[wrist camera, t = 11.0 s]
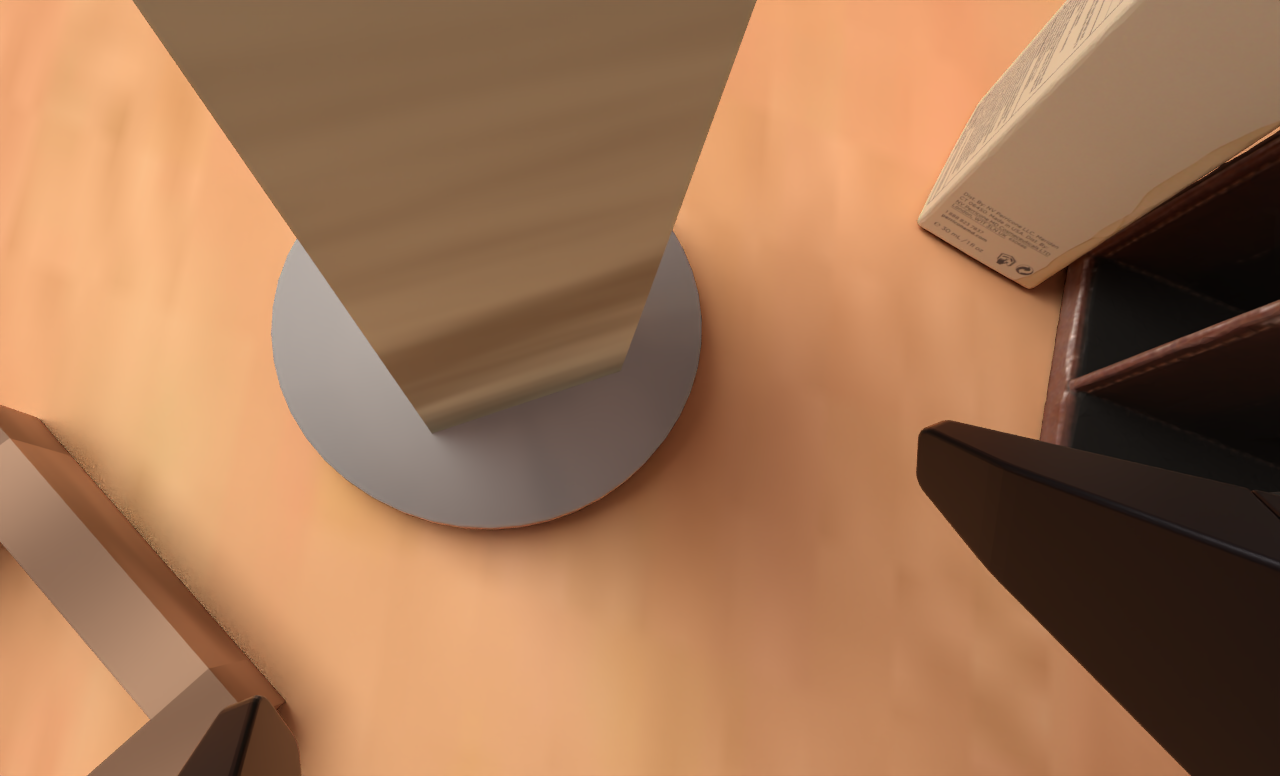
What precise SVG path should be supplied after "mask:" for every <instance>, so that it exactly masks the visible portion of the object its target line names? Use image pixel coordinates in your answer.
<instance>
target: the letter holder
mask: <svg viewBox="0 0 1280 776" xmlns="http://www.w3.org/2000/svg"><path fill="white" fill-rule="evenodd" d="M1040 441H1043V442H1048V443H1052V444H1057V445H1061V446H1065V447H1070V448H1074V449H1078V450H1083V451H1087V452H1092V453H1096V454H1100V455H1105V456H1109V457H1114V458H1118V459H1122V460H1127V461H1131V462H1136V463H1140V464H1144V465H1149V466H1153V467H1158V468H1162V469H1166V470H1171V471H1175V472H1179V473H1184V474H1188V475H1193V476H1197V477H1201V478H1206V479H1210V480H1215V481H1219V482H1223V483H1228V484H1232V485H1237V486H1241V487H1245V488H1247V489H1249V490H1250V491H1253V490H1259V491H1263V492H1268V493H1272V494H1276V495H1280V130H1279V131H1278V132H1276V133H1275V134H1274V135H1272V136H1270V137H1269V138H1267V139H1265V140H1264V141H1262V142H1260V143H1259V144H1257V145H1256V146H1254V147H1253V148H1251V149H1250V150H1248V151H1247V152H1245V153H1243V154H1241V155H1240V156H1238V157H1236V158H1234V159H1233V160H1231V161H1229V162H1226V163H1223V164H1222V165H1220V166H1219V167H1218V168H1217V169H1216V170H1214V171H1213V172H1211V173H1210V174H1208V175H1207V176H1205V177H1203V178H1202V179H1200V180H1198V181H1196V182H1195V183H1193V184H1191V185H1190V186H1188V187H1186V188H1185V189H1183V190H1182V191H1180V192H1179V193H1177V194H1176V195H1174V196H1173V197H1171V198H1170V199H1168V200H1167V201H1165V202H1163V203H1162V204H1160V205H1159V206H1157V207H1156V208H1154V209H1153V210H1151V211H1150V212H1148V213H1147V214H1145V215H1144V216H1142V217H1141V218H1139V219H1138V220H1136V221H1135V222H1133V223H1132V224H1130V225H1129V226H1127V227H1125V228H1124V229H1122V230H1121V231H1119V232H1118V233H1116V234H1115V235H1113V236H1112V237H1110V238H1109V239H1107V240H1106V241H1104V242H1103V243H1101V244H1100V245H1098V246H1097V247H1095V248H1094V249H1092V250H1090V251H1089V252H1087V253H1086V254H1084V255H1083V256H1081V257H1080V258H1078V259H1077V260H1075V261H1074V262H1072V263H1071V264H1069V266H1068V270H1067V276H1066V281H1065V287H1064V292H1063V298H1062V304H1061V310H1060V317H1059V323H1058V326H1057V334H1056V339H1055V348H1054V354H1053V360H1052V367H1051V372H1050V378H1049V384H1048V391H1047V401H1046V403H1045V408H1044V417H1043V421H1042V429H1041V436H1040Z"/></svg>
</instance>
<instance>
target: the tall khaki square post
mask: <svg viewBox="0 0 1280 776" xmlns="http://www.w3.org/2000/svg"><path fill="white" fill-rule="evenodd" d="M756 1H757V0H133V2H134V3H135V4H136V6H137V7H138V9H139V10H140V12H141V13H142V15H143V16H144V17H145V19H146V20H147V22H148V23H149V25H150V26H151V28H152V29H153V31H154V32H155V33H156V35H157V36H158V38H159V39H160V41H161V42H162V44H163V45H164V46H165V48H166V49H167V51H168V52H169V54H170V55H171V57H172V58H173V59H174V61H175V62H176V64H177V65H178V67H179V68H180V70H181V71H182V73H183V74H184V75H185V77H186V78H187V80H188V81H189V83H190V84H191V86H192V87H193V88H194V90H195V91H196V93H197V94H198V96H199V97H200V99H201V100H202V101H203V103H204V104H205V106H206V107H207V109H208V110H209V112H210V113H211V115H212V116H213V117H214V119H215V120H216V122H217V123H218V125H219V126H220V128H221V129H222V130H223V132H224V133H225V135H226V136H227V138H228V139H229V141H230V142H231V143H232V145H233V146H234V148H235V149H236V151H237V152H238V154H239V155H240V157H241V158H242V159H243V161H244V162H245V164H246V165H247V167H248V168H249V170H250V171H251V172H252V174H253V175H254V177H255V178H256V180H257V181H258V183H259V184H260V185H261V187H262V188H263V190H264V191H265V193H266V194H267V196H268V197H269V199H270V200H271V201H272V203H273V204H274V206H275V207H276V209H277V210H278V212H279V213H280V214H281V216H282V217H283V219H284V220H285V222H286V223H287V225H288V226H289V227H290V229H291V230H292V232H293V233H294V235H295V236H296V238H297V239H298V241H299V242H300V243H301V245H302V246H303V248H304V249H305V251H306V252H307V254H308V255H309V256H310V258H311V259H312V261H313V262H314V264H315V265H316V267H317V268H318V269H319V271H320V272H321V274H322V275H323V277H324V278H325V280H326V281H327V283H328V284H329V285H330V287H331V288H332V290H333V291H334V293H335V294H336V296H337V297H338V298H339V300H340V301H341V303H342V304H343V306H344V307H345V309H346V310H347V311H348V313H349V314H350V316H351V317H352V319H353V320H354V322H355V323H356V325H357V326H358V327H359V329H360V330H361V332H362V333H363V335H364V336H365V338H366V339H367V340H368V342H369V343H370V345H371V346H372V348H373V349H374V351H375V352H376V353H377V355H378V356H379V358H380V359H381V361H382V362H383V364H384V365H385V366H386V368H387V369H388V371H389V372H390V374H391V375H392V377H393V378H394V380H395V381H396V382H397V384H398V385H399V387H400V388H401V390H402V391H403V393H404V394H405V395H406V397H407V398H408V400H409V401H410V403H411V404H412V406H413V407H414V408H415V410H416V411H417V413H418V414H419V416H420V417H421V419H422V420H423V422H424V423H425V424H426V426H427V427H428V429H429V430H430V432H431V433H435V432H438V431H441V430H444V429H447V428H450V427H453V426H456V425H459V424H462V423H465V422H468V421H471V420H474V419H477V418H480V417H483V416H486V415H489V414H492V413H495V412H498V411H501V410H504V409H507V408H510V407H513V406H516V405H519V404H522V403H525V402H528V401H532V400H535V399H538V398H541V397H544V396H547V395H550V394H553V393H556V392H559V391H562V390H565V389H568V388H571V387H574V386H577V385H580V384H583V383H586V382H589V381H592V380H595V379H598V378H601V377H604V376H607V375H610V374H613V373H616V372H619V371H621V369H622V366H623V363H624V360H625V358H626V355H627V352H628V350H629V347H630V344H631V341H632V339H633V336H634V333H635V330H636V328H637V325H638V322H639V320H640V317H641V314H642V311H643V309H644V306H645V303H646V300H647V298H648V295H649V292H650V290H651V287H652V284H653V281H654V279H655V276H656V273H657V270H658V268H659V265H660V262H661V260H662V257H663V254H664V251H665V249H666V246H667V243H668V240H669V238H670V235H671V232H672V230H673V227H674V224H675V221H676V219H677V216H678V213H679V210H680V208H681V205H682V202H683V200H684V197H685V194H686V191H687V189H688V186H689V183H690V180H691V178H692V175H693V172H694V170H695V167H696V164H697V161H698V159H699V156H700V153H701V151H702V148H703V145H704V142H705V140H706V137H707V134H708V131H709V129H710V126H711V123H712V121H713V118H714V115H715V112H716V110H717V107H718V104H719V101H720V99H721V96H722V93H723V91H724V88H725V85H726V82H727V80H728V77H729V74H730V71H731V69H732V66H733V63H734V61H735V58H736V55H737V52H738V50H739V47H740V44H741V41H742V39H743V36H744V33H745V31H746V28H747V25H748V22H749V20H750V17H751V14H752V11H753V9H754V6H755V3H756Z"/></svg>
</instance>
